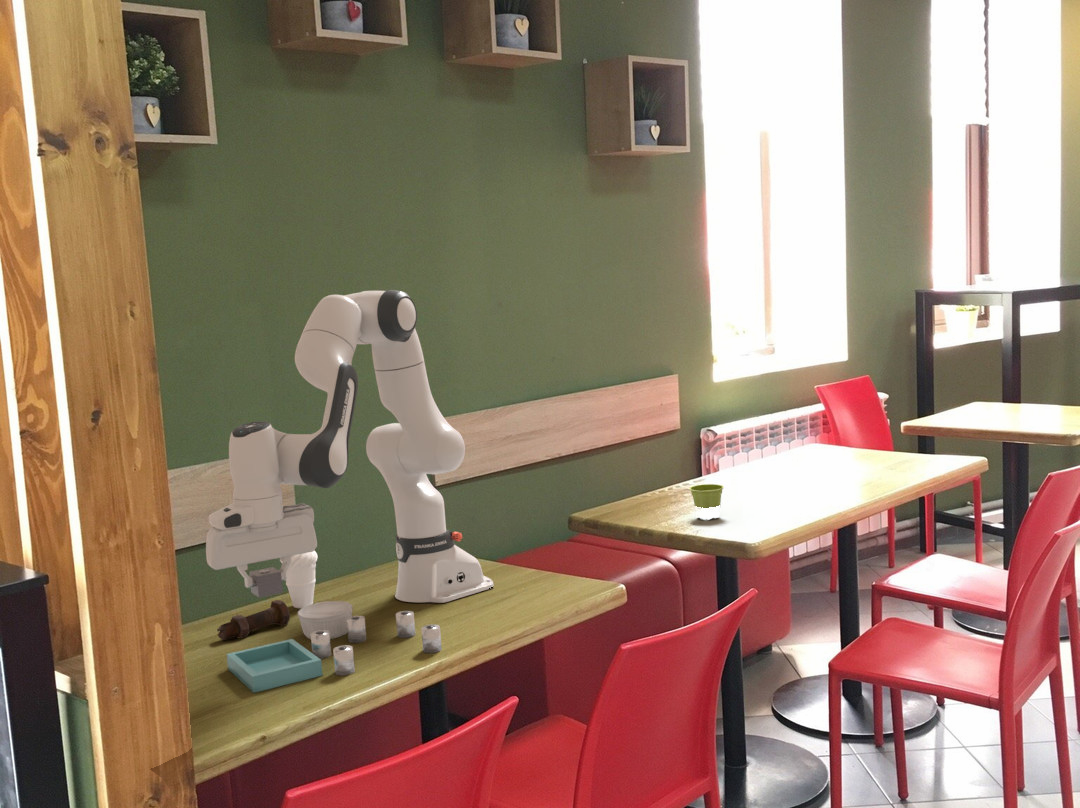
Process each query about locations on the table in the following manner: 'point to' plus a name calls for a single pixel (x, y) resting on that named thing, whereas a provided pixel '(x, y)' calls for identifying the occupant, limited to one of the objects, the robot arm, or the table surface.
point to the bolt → (255, 621)
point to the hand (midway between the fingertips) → (266, 583)
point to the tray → (274, 665)
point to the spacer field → (358, 634)
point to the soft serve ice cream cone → (301, 578)
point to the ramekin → (325, 618)
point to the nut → (266, 582)
